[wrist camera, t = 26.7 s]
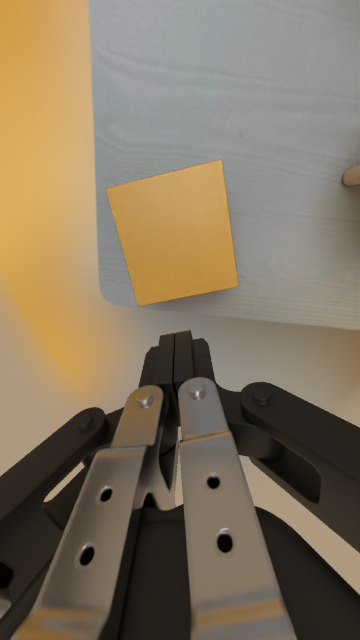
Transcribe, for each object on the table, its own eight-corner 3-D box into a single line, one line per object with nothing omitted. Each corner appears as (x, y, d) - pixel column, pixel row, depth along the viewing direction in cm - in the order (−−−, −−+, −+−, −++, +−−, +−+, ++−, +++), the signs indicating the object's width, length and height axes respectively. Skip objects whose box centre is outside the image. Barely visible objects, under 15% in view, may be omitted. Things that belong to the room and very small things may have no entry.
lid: (237, 285, 30) (238, 286, 29) (139, 304, 31) (138, 306, 30) (220, 161, 25) (222, 159, 25) (107, 189, 27) (105, 188, 26)
